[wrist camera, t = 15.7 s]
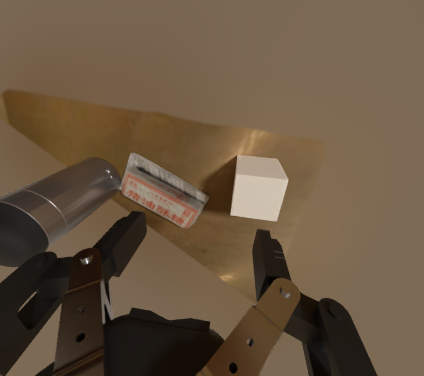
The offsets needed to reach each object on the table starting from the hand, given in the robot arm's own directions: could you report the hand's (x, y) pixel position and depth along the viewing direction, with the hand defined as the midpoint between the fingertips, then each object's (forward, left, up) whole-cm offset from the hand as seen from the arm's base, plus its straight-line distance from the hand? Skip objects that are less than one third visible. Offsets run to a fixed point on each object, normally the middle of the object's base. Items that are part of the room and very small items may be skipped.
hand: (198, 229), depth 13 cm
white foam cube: (+4, -6, -23) cm, 24 cm away
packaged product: (-15, -8, -24) cm, 29 cm away
